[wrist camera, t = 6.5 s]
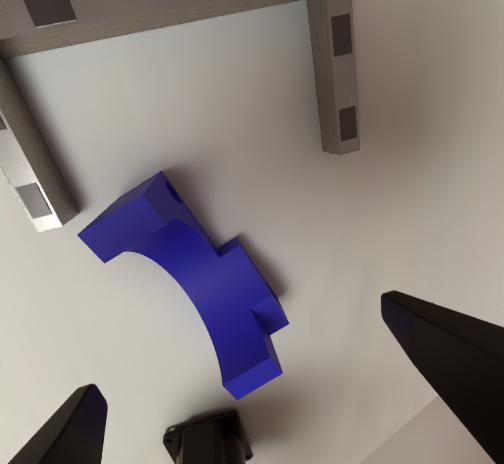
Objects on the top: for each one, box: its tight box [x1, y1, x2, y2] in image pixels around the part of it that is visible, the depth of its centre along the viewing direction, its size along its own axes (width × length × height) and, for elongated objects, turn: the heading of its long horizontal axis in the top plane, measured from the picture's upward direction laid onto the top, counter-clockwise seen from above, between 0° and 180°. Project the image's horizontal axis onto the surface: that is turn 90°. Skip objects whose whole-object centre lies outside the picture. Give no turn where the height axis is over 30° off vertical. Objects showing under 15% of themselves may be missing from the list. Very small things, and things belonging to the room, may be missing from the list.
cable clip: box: [78, 171, 289, 400], centre depth 16 cm, size 12×4×6 cm, turn 30°
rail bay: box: [0, 0, 360, 232], centre depth 14 cm, size 9×17×2 cm, turn 102°
